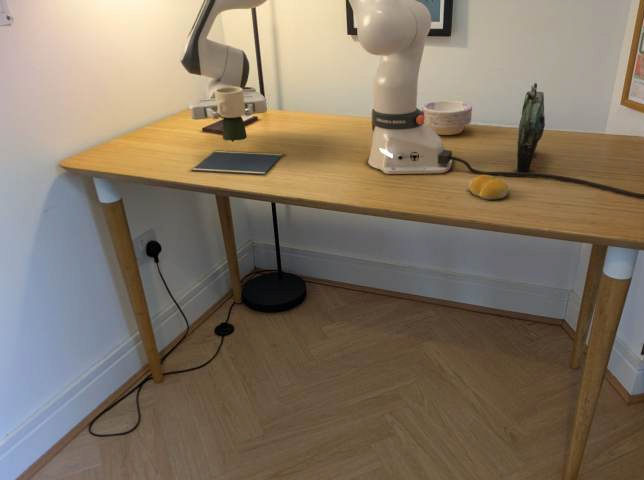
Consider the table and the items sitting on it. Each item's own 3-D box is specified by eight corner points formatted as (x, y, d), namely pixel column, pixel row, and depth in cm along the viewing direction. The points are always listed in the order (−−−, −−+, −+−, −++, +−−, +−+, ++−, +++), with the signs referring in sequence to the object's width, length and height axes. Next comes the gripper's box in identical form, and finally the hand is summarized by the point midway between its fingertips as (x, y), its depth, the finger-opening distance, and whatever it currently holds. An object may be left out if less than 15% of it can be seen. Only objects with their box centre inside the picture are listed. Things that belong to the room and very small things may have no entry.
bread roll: (493, 203, 128) (495, 187, 126) (463, 192, 134) (464, 176, 131) (515, 194, 132) (517, 178, 130) (485, 183, 138) (487, 168, 136)
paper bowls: (420, 124, 182) (421, 99, 178) (467, 124, 181) (469, 99, 177) (422, 138, 169) (423, 112, 165) (472, 138, 169) (475, 111, 164)
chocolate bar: (201, 128, 178) (235, 113, 192) (202, 131, 178) (235, 116, 192) (225, 131, 175) (257, 116, 189) (225, 134, 175) (257, 119, 189)
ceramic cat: (517, 149, 159) (527, 76, 149) (541, 151, 158) (552, 77, 147) (510, 174, 143) (520, 93, 133) (536, 176, 142) (548, 95, 131)
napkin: (283, 154, 158) (282, 153, 158) (263, 175, 145) (263, 173, 145) (216, 151, 162) (216, 150, 162) (191, 171, 148) (191, 169, 148)
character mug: (233, 132, 155) (226, 84, 148) (256, 135, 154) (250, 85, 147) (213, 145, 147) (205, 93, 140) (237, 147, 145) (230, 95, 138)
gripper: (184, 93, 152) (188, 105, 141) (259, 86, 158) (269, 98, 147) (189, 116, 156) (193, 130, 145) (262, 109, 161) (271, 122, 150)
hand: (232, 114), depth 146 cm, fingers closed on character mug, 7 cm apart
